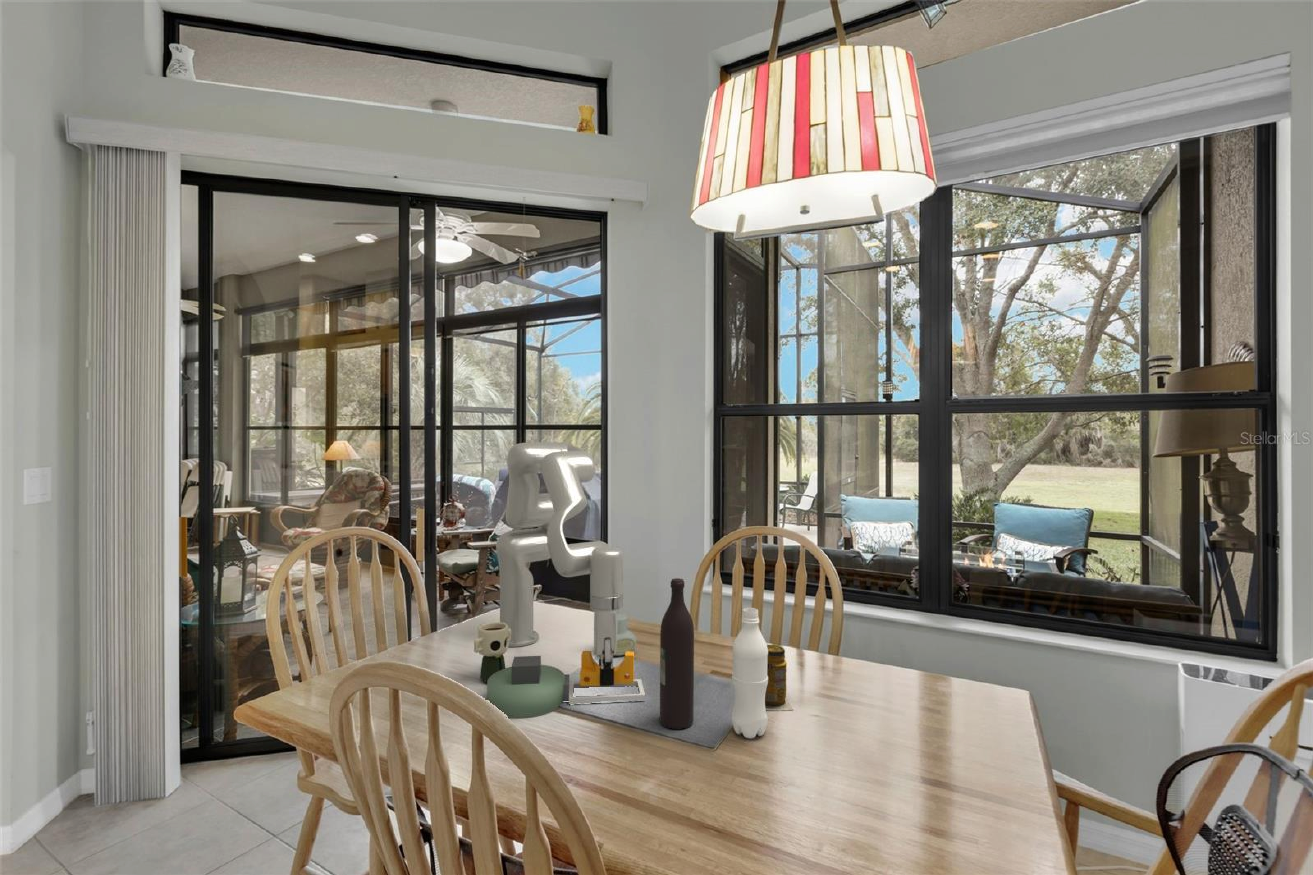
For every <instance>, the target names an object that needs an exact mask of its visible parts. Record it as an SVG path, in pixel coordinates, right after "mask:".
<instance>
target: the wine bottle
mask: <svg viewBox="0 0 1313 875" xmlns="http://www.w3.org/2000/svg"><path fill="white" fill-rule="evenodd" d="M670 588H671V598H670V603H669V605H668V607H667V609H666V610H665V613H664V615H663V617H662V620H661V623H660V624H661V625H660V632H659V635H660V636H659V637H660V640H659V645H660V646H659V676H660V677H659V721H660V725H662V726H663V727H664V728H667V729H670V728H671V729H672V730H683V729H682V728H684V729H688V728H690V727H691V726H693V723H694V706H695V705H694V704H695V702H694V700H695V698H694V696H695V695H694V693H695V692H694V691H695V688H694V686H695V683H694V682H695V681H694V680H695V675H694V674H695V673H694V672H695V666H694V665H695V628H694V627H695V625H694V622H693V618H692V616H691V614H690V612H689V610H688V608H687V606H686V603H685V598H684V588H685V581H684V579H683V578H680V577H679V578H672V579H671V581H670Z"/></svg>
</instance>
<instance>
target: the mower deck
mask: <svg viewBox="0 0 1313 875" xmlns="http://www.w3.org/2000/svg"><path fill="white" fill-rule="evenodd" d="M541 662H542V656H541V655H526V656H525V655H524V656H523V655H521V656H514V657H513V661H512V663H511V666H510V667H505V669H502V670H500V671H498V672H496V673H494V674H493V675H492V676H490V678H489V679H488V682H486V684H487V695H486V696H487V698H486V699H487V700H489V701H490V703H492V704H493V705H495V706H496V707H497V708H498V709H499V710H501V711H502V712H504V714H506V715H507V716H508V718H509V719H529V718H536V717H540V716H543V715H547V714H550V713H552V712H554V711H556V710H558V709H559V708H560V707H561V706H562V705H563V704H562V702H563V701H569V703H568V705H569V704H577V703H592V702H601V701H617V700H645V701H646V693H645V689H644V686H643V682H642V679H641V678H639V679H638V678H634V683H633V684H629V683H614V685H612V686H580V681H570V674H569V673H568V674H565V673H564V672H563V671H562V670H561V669H559V668H557V667H554V666H552V665H551V666H550V665H545V664H542V663H541ZM625 686H627V687H629V686H631V687H633V686H636V687H638V691H639V693H638V694H617V695H597V696H576V697H573V693H574V688H589V687H625ZM487 700H486V701H487ZM561 704H562V705H561ZM560 705H561V706H560ZM559 706H560V707H559Z"/></svg>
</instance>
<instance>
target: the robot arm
mask: <svg viewBox="0 0 1313 875" xmlns="http://www.w3.org/2000/svg"><path fill="white" fill-rule="evenodd" d="M506 464H507V467H506V468H507V472H508V480H509V482H508V488H507V489H508V490H507V498H506V506H505V507H506V508H505V521H506V524H507V525H508V526H509V527H510V528H513V529H515V530H510V531H506V532H504V533H502V534H501V535H499V536H498V538H497V540H496V543H495V549H496V555H497V556H496V557H497V561H498V567H499V569H498V570H499V622H501V623H505V624H507V625H508V629H511V641H509V642H508V644H509V645H508V648H509V647H510V648H512V647H513V648H514V647H515V648H517V647H525V646H528V645H532V644H534V643H536V642H537V641H538V640H539V639H540V638H539V637H540V634H539V633H538V632H537V631H536V630H534V577H533V574H532V572H531V571H530V570H529V569H528V567H527V565H526V564H529V563H535V562H541V561H548V560H550V559H551V562H552V565H553V566H554V569H555V570H556V572H557V573H558V574H559V575H560V576H562V577H564V578H573V577H578V576H584V575H585V576H586V575H589V578H590V579H589V582H590V583H589V585H590V586H589V587H590V588H589V591H590V592H589V593H590V594H589V609H590V610H591V611H593V612H594V613H593V615H594V616H593V620H594V621H593V653H594V656H596V657H598V656H599V658H598V665H599V666H601V668H600V686H612V685H614V667H615V666H614V656H613V655H615V654H616V649H617V631H618V613H619V611H621V610H623V608H624V600H623V599H624V553H623V551H622V550H621V549H620V548H619V547H614V546H610V545H609V544H608V543H606V542H604V541H601V540H595V541H588V542H587V541H585V542H578V543H570V544H568V542H567V540H566V537H565V535H564V523H565V522H566V521H568V520H570V519H572V518H573V517H576V516H577V515H578V514H580V513H582V511H583V510H584V509H585V508H587V503H588V500H587V496H586V494H585V491H584V489H583V486H582V483H587V482H590V481H592V480H593V479H594V477H595V474H596V464H595V461H594V459H593V457H592V456H591V454H590V453H589V452H588V451H586V450H585V449H582V448H581V447H579V446H576V445H573V444H572V443H569V442H564V441H563V442H558V441H557V442H556V441H555V442H554V441H553V442H552V441H551V442H546V441H545V442H543V441H541V442H540V441H537V442H536V441H535V442H532V441H530V442H521V443H520V442H519V443H516V444H513V446H511V447H510V448H509V450H508V453H507V458H506ZM538 474H541V476H542V478H543V481H544V485H545V488H546V490H547V493H540V486H541V484H540V483H541V482H540V477H539V475H538ZM517 529H519V530H517Z"/></svg>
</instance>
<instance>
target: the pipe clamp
mask: <svg viewBox="0 0 1313 875" xmlns="http://www.w3.org/2000/svg"><path fill="white" fill-rule="evenodd" d="M580 655H581V657H580V659H581V660H580V664H581V665H580V671H579V682H580V686H600V668H601V666H599V663H597V662H596V661H595V659H594V658H593V654H592V650H582V652H581V654H580ZM613 667H614V683H629V684H633V683H634V679H635V651H633V650H632V651H626V653H625V655H624V659H623V660H622V661H621V662H620V664H618V665H617V666H613Z"/></svg>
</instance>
